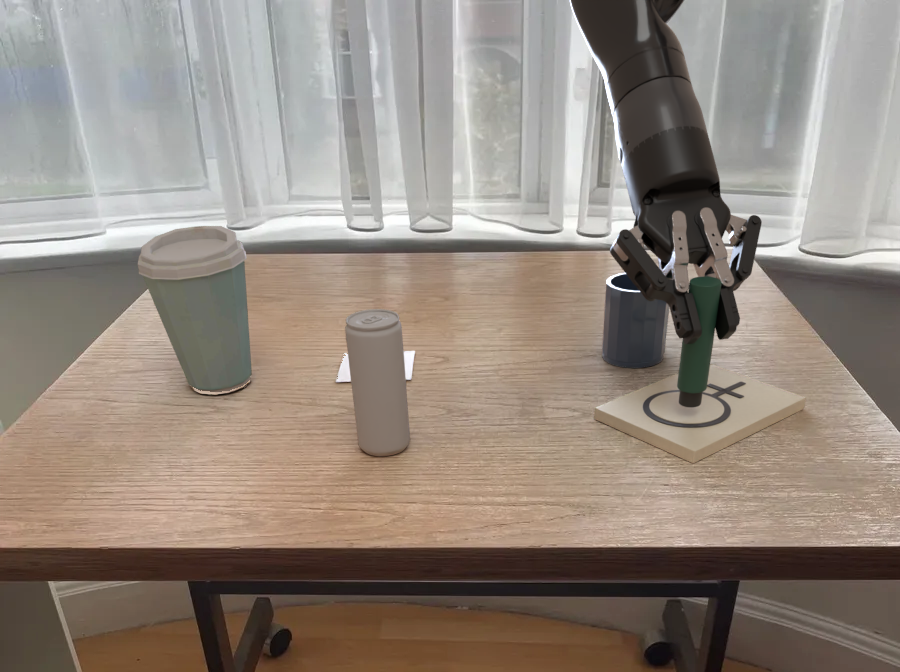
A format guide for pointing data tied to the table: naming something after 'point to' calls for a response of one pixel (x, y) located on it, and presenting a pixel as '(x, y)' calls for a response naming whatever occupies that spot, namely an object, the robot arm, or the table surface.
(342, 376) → the white piece
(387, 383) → the beverage can
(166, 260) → the disposable coffee cup
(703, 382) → the marker
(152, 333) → the table surface
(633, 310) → the pen cup
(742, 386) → the drawing board
